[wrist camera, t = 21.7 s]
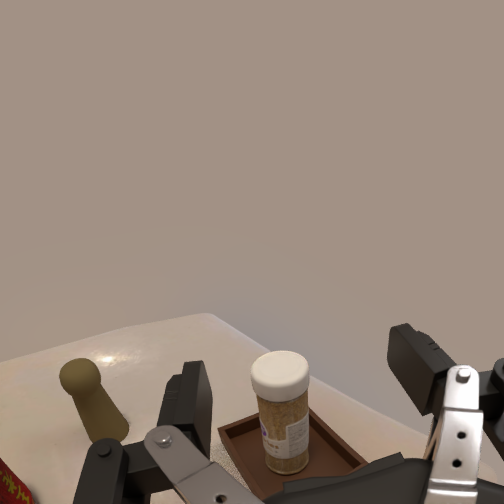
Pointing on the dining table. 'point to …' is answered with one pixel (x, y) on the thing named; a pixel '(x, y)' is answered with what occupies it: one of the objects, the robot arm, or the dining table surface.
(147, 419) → the dining table surface
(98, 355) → the dining table surface
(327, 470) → the serving tray
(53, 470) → the dining table surface
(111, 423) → the chess piece
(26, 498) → the soda can
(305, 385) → the sprinkles bottle
